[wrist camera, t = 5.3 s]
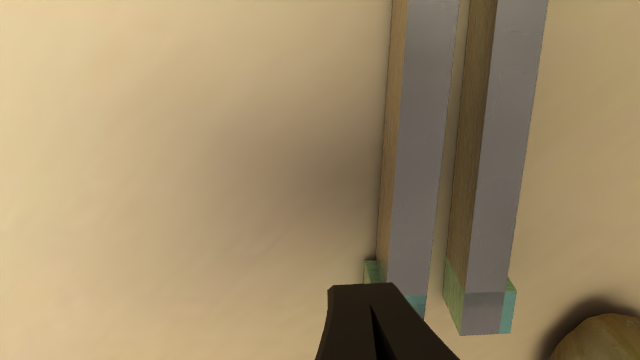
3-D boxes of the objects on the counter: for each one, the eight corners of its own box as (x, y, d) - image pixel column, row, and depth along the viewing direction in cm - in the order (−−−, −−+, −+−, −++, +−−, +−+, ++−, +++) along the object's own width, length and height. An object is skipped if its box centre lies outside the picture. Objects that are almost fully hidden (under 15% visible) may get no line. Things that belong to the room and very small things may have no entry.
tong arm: (441, -32, 18) (462, -24, 16) (409, 299, 23) (421, 337, 21) (381, -32, 18) (395, -24, 16) (362, 300, 23) (370, 339, 21)
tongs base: (546, -145, 17) (586, -152, 15) (488, 292, 23) (510, 333, 21) (424, -144, 17) (447, -151, 15) (399, 297, 23) (412, 338, 21)
